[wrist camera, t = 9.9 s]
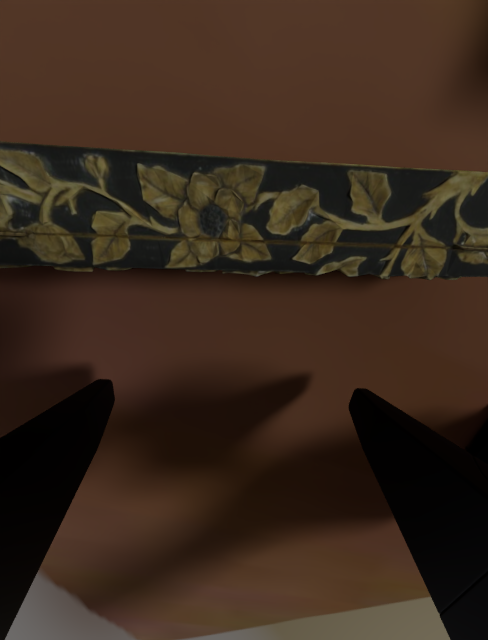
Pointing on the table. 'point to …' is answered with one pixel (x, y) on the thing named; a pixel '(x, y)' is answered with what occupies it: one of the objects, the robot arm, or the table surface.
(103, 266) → the decorative block
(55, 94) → the table surface
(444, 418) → the table surface
